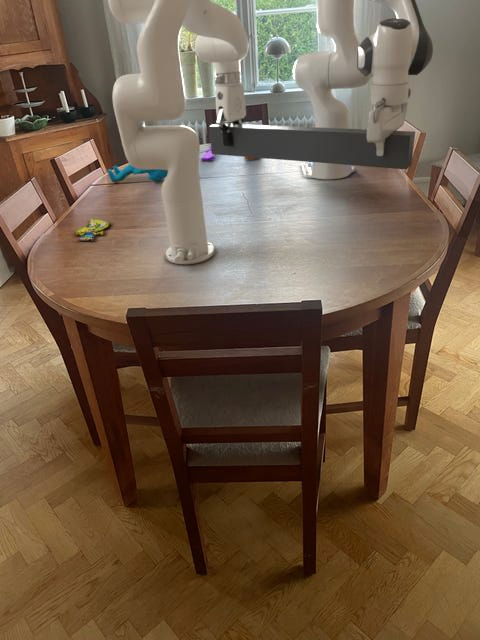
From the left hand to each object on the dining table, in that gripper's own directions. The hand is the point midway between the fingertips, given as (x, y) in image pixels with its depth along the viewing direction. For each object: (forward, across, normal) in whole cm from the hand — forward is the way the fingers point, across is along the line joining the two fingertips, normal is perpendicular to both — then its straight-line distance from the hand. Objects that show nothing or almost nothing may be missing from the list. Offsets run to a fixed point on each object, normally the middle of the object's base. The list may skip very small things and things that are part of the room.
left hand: (233, 143), depth 150 cm
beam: (+3, 0, -24) cm, 24 cm away
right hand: (0, 0, -48) cm, 48 cm away
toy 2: (+17, +6, +44) cm, 48 cm away
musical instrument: (+17, +41, +45) cm, 63 cm away
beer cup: (+17, +44, +20) cm, 52 cm away
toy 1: (+18, -40, +26) cm, 51 cm away
